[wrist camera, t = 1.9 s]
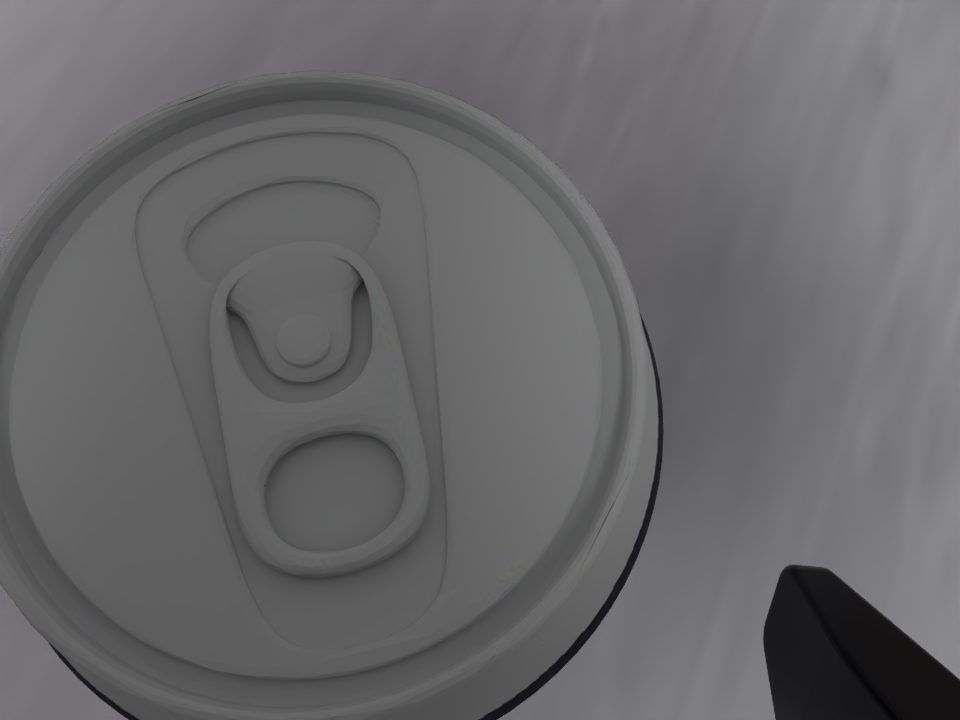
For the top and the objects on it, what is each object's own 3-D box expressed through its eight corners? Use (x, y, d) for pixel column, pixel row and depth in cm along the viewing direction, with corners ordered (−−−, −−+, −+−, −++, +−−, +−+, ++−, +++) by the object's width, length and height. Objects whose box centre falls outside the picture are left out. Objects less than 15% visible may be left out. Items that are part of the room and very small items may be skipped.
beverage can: (504, 381, 19) (578, -30, 7) (576, 648, 17) (825, 667, 5) (245, 442, 18) (-125, 102, 7) (292, 724, 16) (-93, 924, 5)
